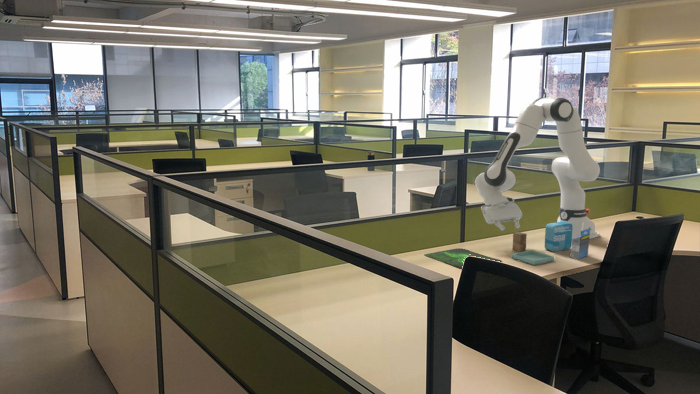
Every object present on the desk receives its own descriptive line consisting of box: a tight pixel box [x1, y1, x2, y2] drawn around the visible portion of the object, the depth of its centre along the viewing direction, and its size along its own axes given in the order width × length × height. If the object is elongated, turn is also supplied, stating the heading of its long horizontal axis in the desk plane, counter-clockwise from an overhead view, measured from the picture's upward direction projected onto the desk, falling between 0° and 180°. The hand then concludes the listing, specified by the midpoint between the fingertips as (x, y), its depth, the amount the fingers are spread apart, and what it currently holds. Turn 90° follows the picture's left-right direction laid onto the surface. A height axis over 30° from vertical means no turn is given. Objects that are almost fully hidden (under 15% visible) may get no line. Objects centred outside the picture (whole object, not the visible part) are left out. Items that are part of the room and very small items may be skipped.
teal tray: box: [511, 249, 555, 266], centre depth 239 cm, size 12×12×2 cm
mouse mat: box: [423, 247, 503, 270], centre depth 242 cm, size 27×22×1 cm
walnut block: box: [511, 231, 527, 253], centre depth 253 cm, size 4×4×8 cm
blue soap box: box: [544, 221, 573, 253], centre depth 255 cm, size 12×4×12 cm, turn 116°
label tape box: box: [570, 228, 590, 260], centre depth 243 cm, size 9×4×12 cm, turn 133°
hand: (511, 228), depth 256 cm, fingers open, 8 cm apart
